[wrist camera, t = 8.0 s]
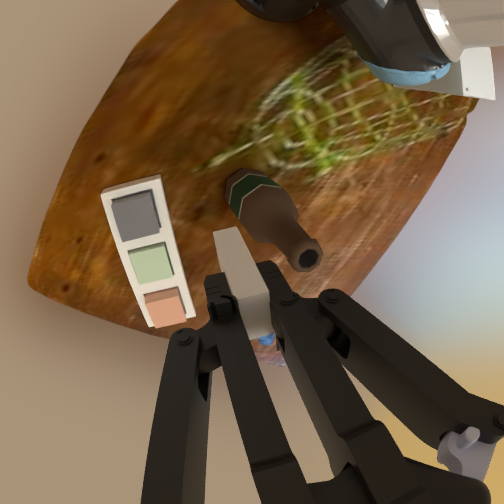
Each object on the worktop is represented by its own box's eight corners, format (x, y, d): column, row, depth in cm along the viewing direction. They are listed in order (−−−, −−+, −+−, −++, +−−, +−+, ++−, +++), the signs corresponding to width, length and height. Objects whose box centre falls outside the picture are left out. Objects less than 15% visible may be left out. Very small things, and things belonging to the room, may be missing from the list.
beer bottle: (213, 198, 47) (255, 277, 27) (238, 158, 45) (304, 208, 25) (251, 218, 51) (312, 300, 31) (275, 181, 49) (355, 243, 29)
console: (104, 188, 41) (100, 194, 39) (160, 173, 43) (160, 178, 40) (148, 316, 55) (148, 326, 52) (194, 306, 57) (196, 316, 54)
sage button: (130, 246, 46) (128, 254, 43) (163, 237, 47) (164, 246, 45) (140, 275, 49) (139, 284, 47) (172, 267, 50) (173, 276, 48)
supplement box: (431, 91, 48) (496, 103, 33) (391, 88, 46) (463, 97, 30) (422, 22, 39) (486, 19, 24) (379, 10, 37) (449, -1, 21)
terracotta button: (145, 293, 49) (145, 303, 47) (176, 285, 50) (178, 296, 48) (155, 317, 52) (155, 328, 50) (184, 310, 54) (186, 321, 51)
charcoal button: (114, 199, 40) (110, 205, 38) (150, 189, 41) (150, 195, 39) (124, 234, 43) (122, 242, 41) (159, 225, 44) (159, 233, 42)
